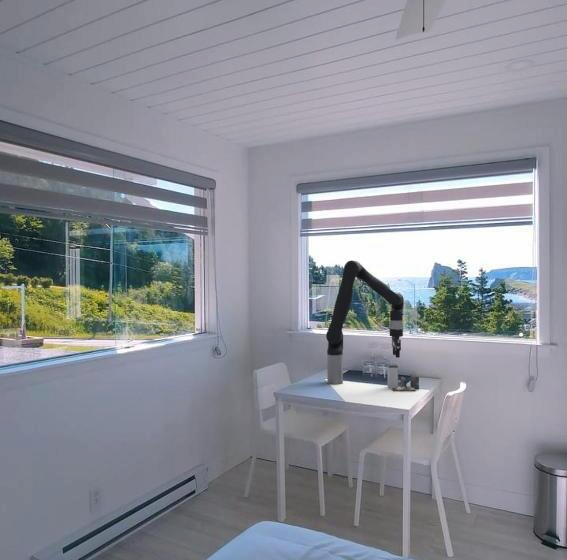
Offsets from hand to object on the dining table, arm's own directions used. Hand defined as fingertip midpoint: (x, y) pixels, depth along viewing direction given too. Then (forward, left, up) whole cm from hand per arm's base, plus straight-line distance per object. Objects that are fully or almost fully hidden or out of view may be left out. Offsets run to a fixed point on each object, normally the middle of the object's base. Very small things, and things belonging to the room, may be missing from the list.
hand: (396, 356), depth 278 cm
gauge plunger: (+4, -2, -17) cm, 18 cm away
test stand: (+4, -2, -18) cm, 19 cm away
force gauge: (-1, 0, -18) cm, 18 cm away
